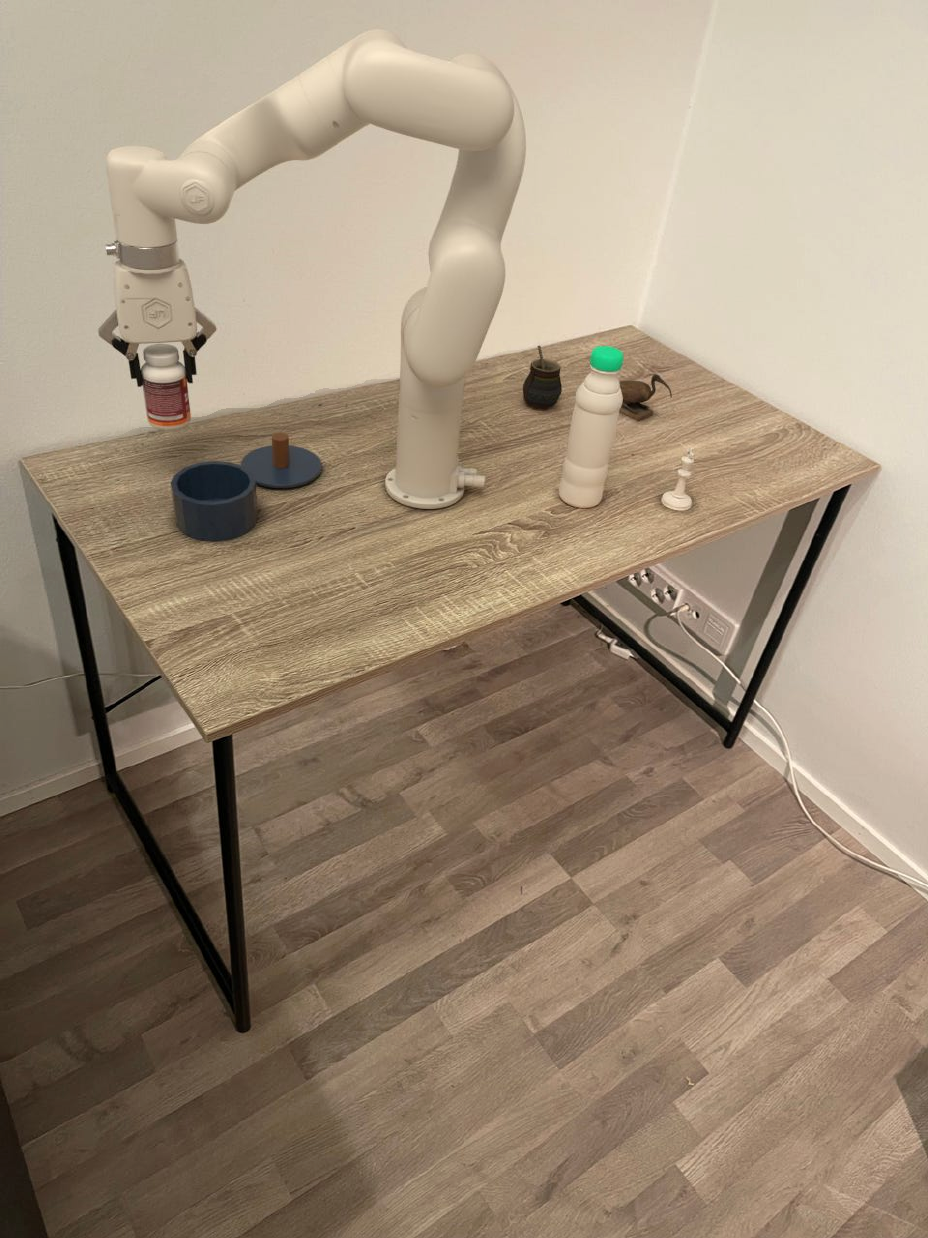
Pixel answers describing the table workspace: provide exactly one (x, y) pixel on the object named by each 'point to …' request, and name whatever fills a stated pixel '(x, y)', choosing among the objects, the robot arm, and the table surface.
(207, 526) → the tin
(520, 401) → the table surface
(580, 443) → the water bottle
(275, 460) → the lid
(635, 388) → the figurine
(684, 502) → the chess piece
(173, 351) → the pill bottle
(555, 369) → the mate gourd
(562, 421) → the table surface
